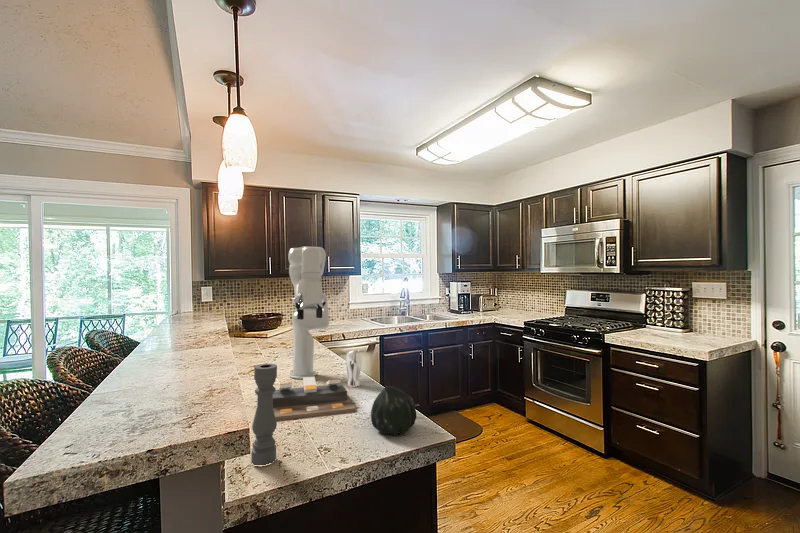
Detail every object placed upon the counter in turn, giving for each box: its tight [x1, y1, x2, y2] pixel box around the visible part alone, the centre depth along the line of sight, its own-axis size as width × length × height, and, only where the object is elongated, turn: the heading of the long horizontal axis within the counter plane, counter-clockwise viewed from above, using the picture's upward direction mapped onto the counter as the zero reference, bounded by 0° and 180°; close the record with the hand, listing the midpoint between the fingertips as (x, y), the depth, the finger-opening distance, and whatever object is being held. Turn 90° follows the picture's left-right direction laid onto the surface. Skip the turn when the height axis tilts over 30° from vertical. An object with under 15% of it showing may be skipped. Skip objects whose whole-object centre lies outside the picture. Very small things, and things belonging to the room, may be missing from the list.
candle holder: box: [250, 363, 278, 465], centre depth 98 cm, size 6×6×25 cm
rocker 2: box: [302, 376, 317, 393], centre depth 141 cm, size 8×4×2 cm, turn 19°
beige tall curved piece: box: [345, 349, 363, 388], centre depth 165 cm, size 7×7×15 cm
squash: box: [370, 385, 418, 436], centre depth 118 cm, size 14×15×15 cm
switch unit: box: [273, 383, 357, 422], centre depth 139 cm, size 22×30×6 cm
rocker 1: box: [278, 382, 293, 390], centre depth 138 cm, size 8×4×1 cm, turn 20°
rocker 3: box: [325, 378, 342, 385], centre depth 145 cm, size 8×4×1 cm, turn 20°
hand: (310, 318), depth 152 cm, fingers open, 9 cm apart
